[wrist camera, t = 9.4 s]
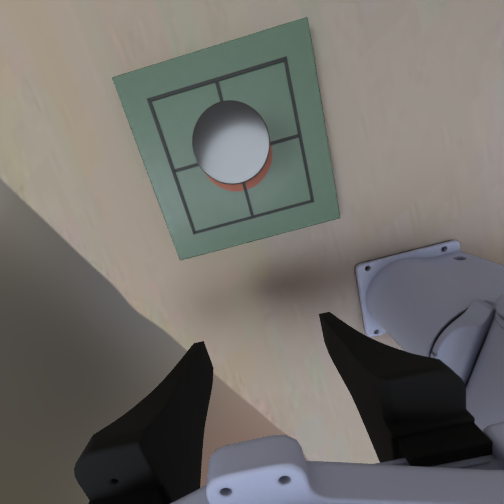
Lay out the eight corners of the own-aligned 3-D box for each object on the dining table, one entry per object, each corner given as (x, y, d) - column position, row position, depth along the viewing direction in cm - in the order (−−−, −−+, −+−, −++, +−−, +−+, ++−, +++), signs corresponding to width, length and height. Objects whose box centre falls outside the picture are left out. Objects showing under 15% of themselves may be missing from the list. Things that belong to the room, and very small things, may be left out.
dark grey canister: (255, 113, 18) (259, 89, 13) (270, 175, 19) (278, 173, 14) (198, 130, 18) (180, 112, 13) (215, 190, 19) (206, 193, 14)
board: (302, 29, 18) (308, 15, 16) (334, 215, 22) (341, 218, 20) (121, 85, 18) (110, 76, 17) (184, 255, 22) (179, 261, 21)
